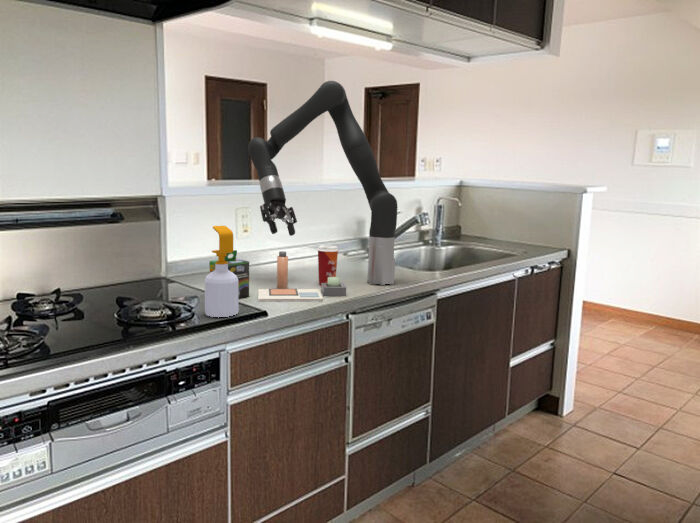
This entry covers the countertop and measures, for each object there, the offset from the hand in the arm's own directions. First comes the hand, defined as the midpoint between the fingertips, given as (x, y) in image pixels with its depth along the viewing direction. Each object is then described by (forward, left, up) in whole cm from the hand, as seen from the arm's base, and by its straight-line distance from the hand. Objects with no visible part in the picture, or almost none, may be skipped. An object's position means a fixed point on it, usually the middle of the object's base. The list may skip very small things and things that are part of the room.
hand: (283, 234), depth 195 cm
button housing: (-16, +12, -18) cm, 27 cm away
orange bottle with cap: (0, +3, -18) cm, 19 cm away
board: (-2, +15, -18) cm, 24 cm away
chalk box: (+17, +15, -19) cm, 30 cm away
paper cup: (-16, -2, -19) cm, 24 cm away
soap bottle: (+18, +37, -19) cm, 45 cm away
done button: (-16, +12, -17) cm, 26 cm away
